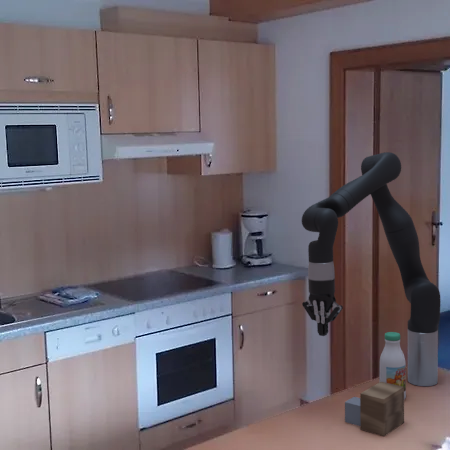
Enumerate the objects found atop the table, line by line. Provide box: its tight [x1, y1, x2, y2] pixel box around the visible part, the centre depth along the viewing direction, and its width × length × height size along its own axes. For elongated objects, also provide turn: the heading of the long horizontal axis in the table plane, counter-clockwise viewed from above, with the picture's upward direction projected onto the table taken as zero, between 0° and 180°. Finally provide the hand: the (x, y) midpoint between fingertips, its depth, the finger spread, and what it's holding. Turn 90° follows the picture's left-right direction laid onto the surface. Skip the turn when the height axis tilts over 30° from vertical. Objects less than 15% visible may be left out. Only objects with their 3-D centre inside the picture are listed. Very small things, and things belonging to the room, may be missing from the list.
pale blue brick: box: [344, 396, 361, 428], centre depth 188 cm, size 5×12×6 cm, turn 48°
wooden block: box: [359, 381, 405, 437], centre depth 186 cm, size 11×7×10 cm, turn 138°
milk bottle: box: [379, 331, 407, 401], centre depth 205 cm, size 8×8×20 cm
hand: (323, 335), depth 199 cm, fingers closed
